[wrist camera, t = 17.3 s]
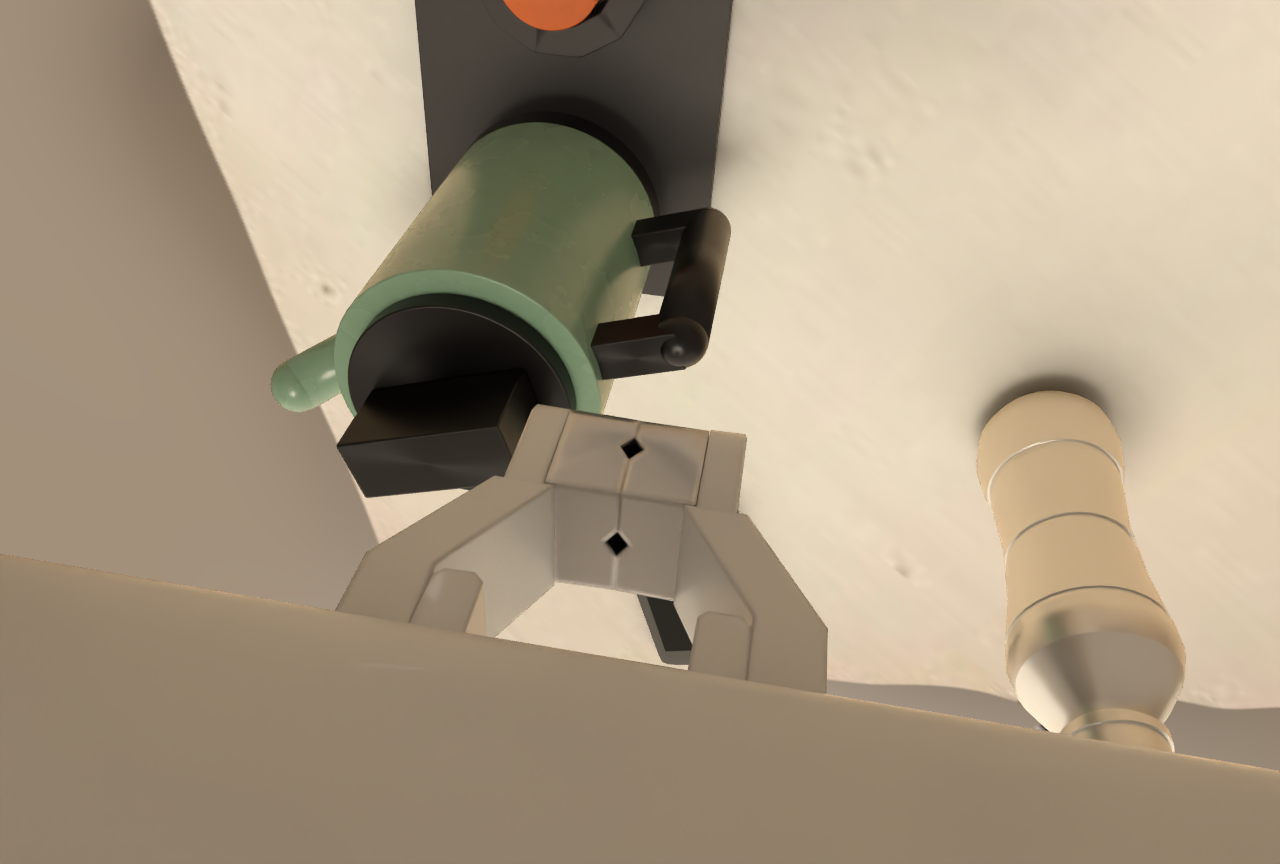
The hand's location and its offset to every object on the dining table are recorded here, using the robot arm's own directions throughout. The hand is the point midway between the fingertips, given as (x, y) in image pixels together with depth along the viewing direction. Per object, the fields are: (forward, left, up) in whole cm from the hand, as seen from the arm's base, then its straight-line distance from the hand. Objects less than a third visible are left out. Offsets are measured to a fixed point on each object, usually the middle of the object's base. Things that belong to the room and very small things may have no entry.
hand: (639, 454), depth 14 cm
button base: (+7, -8, -31) cm, 33 cm away
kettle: (+11, -8, -28) cm, 31 cm away
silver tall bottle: (+21, +16, -31) cm, 41 cm away
